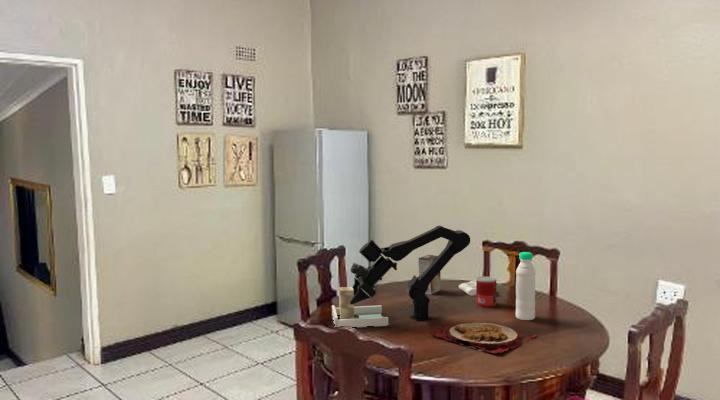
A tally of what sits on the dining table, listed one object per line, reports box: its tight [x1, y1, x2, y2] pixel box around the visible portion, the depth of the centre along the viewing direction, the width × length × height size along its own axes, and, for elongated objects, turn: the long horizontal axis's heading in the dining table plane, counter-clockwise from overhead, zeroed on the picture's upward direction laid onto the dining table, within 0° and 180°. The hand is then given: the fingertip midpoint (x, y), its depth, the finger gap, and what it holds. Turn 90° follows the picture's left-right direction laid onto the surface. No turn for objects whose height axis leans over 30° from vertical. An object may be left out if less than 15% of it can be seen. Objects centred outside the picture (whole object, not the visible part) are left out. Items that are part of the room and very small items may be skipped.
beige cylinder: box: [338, 286, 355, 320], centre depth 201 cm, size 5×5×12 cm
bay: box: [331, 305, 389, 328], centre depth 202 cm, size 20×16×4 cm
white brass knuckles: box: [458, 279, 476, 297], centre depth 240 cm, size 3×18×15 cm
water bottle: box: [515, 251, 536, 321], centre depth 200 cm, size 7×7×25 cm
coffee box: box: [418, 254, 442, 295], centre depth 241 cm, size 9×6×16 cm
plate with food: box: [430, 321, 537, 354], centre depth 182 cm, size 25×26×4 cm
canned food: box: [475, 276, 497, 308], centre depth 219 cm, size 8×8×11 cm
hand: (349, 300), depth 201 cm, fingers open, 9 cm apart
